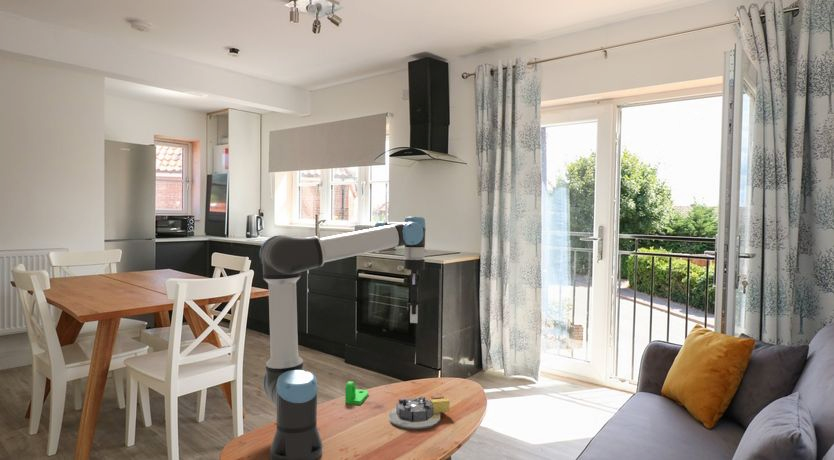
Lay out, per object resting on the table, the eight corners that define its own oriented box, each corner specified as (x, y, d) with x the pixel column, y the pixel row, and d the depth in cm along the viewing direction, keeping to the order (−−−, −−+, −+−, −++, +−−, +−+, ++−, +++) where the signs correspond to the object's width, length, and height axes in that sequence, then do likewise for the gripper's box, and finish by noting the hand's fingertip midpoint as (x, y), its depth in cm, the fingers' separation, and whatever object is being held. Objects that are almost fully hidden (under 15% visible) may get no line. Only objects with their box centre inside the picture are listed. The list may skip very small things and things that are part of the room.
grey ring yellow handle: (402, 422, 163) (402, 410, 163) (393, 408, 175) (393, 397, 175) (454, 417, 168) (454, 405, 168) (442, 404, 180) (442, 393, 180)
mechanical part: (360, 406, 182) (360, 385, 182) (345, 404, 184) (345, 383, 183) (370, 395, 194) (370, 375, 194) (356, 394, 195) (356, 374, 195)
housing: (398, 432, 159) (398, 414, 159) (383, 412, 176) (383, 396, 176) (456, 424, 166) (456, 407, 166) (436, 405, 183) (436, 390, 183)
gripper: (424, 260, 171) (423, 326, 172) (425, 257, 184) (424, 319, 185) (403, 259, 172) (402, 326, 172) (405, 257, 185) (404, 318, 185)
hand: (413, 322), depth 178 cm, fingers closed
